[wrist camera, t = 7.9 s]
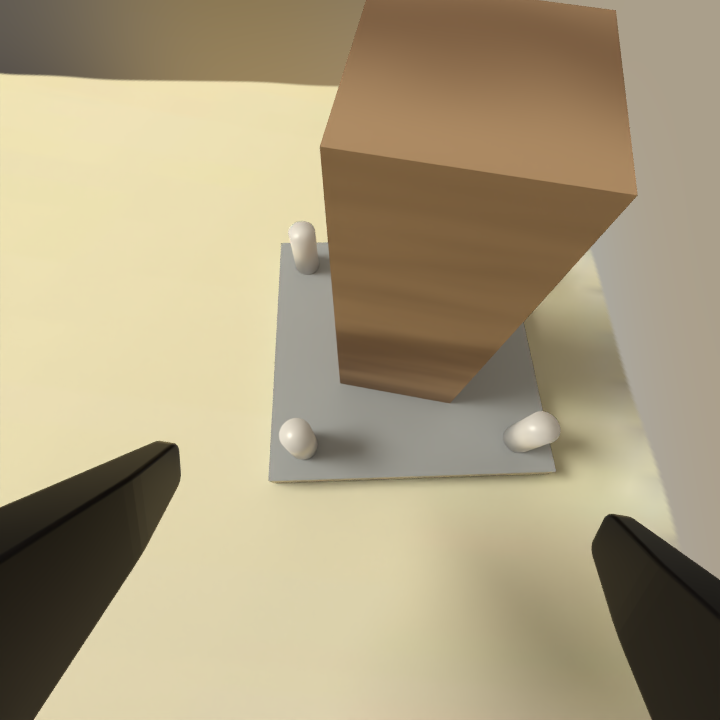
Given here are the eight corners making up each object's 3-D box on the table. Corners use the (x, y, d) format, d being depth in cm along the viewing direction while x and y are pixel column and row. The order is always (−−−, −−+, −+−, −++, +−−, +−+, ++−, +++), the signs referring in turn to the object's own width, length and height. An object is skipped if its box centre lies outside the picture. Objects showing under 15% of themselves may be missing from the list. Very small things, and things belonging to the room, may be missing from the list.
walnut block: (449, 403, 17) (637, 195, 6) (340, 383, 17) (319, 146, 6) (459, 307, 19) (615, 10, 8) (360, 290, 19) (372, -22, 8)
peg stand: (544, 474, 17) (590, 464, 14) (273, 482, 17) (253, 475, 13) (499, 252, 21) (525, 205, 18) (284, 255, 21) (272, 207, 18)
